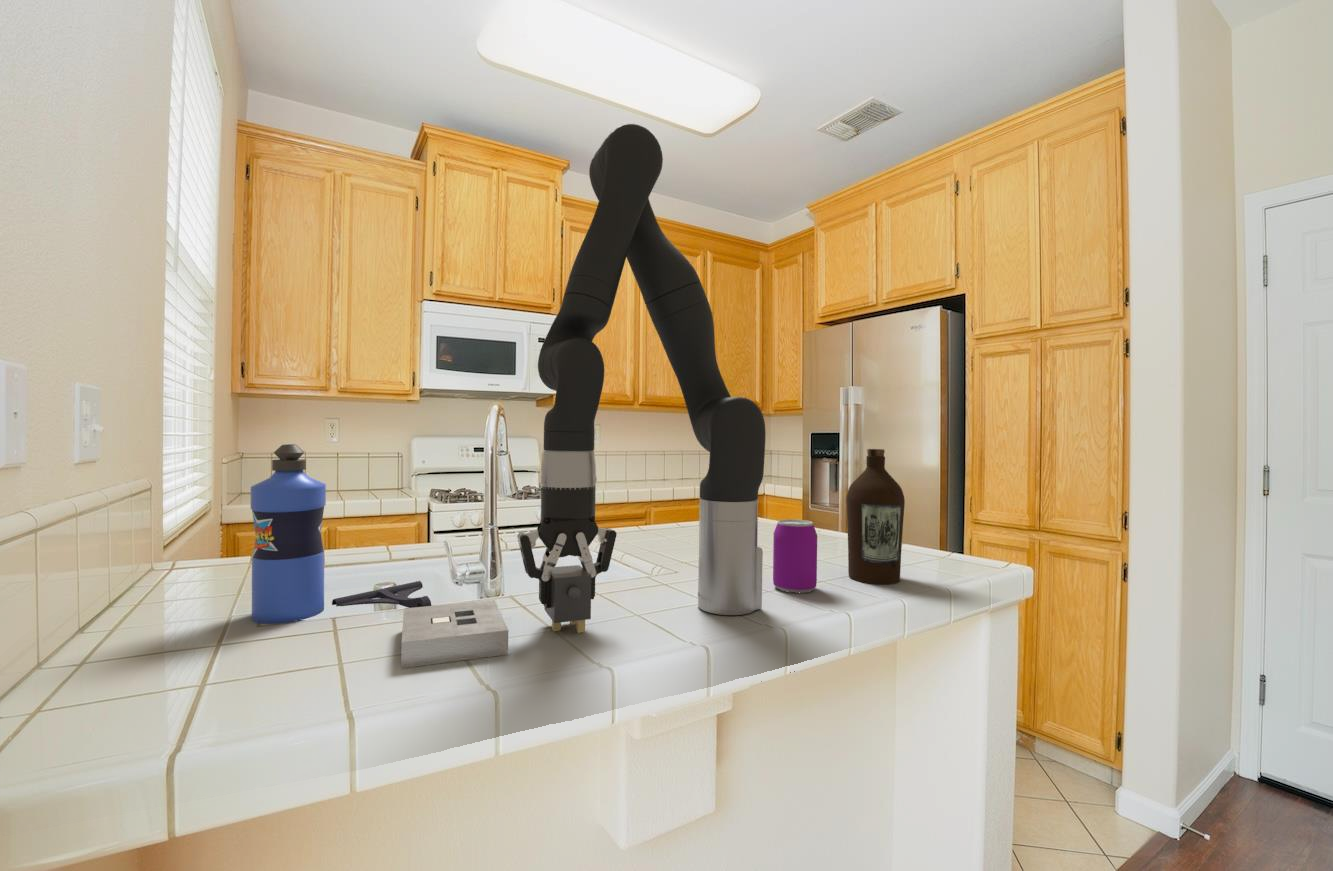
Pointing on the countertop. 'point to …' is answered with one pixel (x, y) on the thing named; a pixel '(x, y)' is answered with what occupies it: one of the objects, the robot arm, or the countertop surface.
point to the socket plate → (452, 633)
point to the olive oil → (875, 523)
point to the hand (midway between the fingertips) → (566, 604)
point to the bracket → (387, 597)
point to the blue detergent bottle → (287, 542)
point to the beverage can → (795, 556)
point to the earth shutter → (440, 620)
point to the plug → (570, 597)
